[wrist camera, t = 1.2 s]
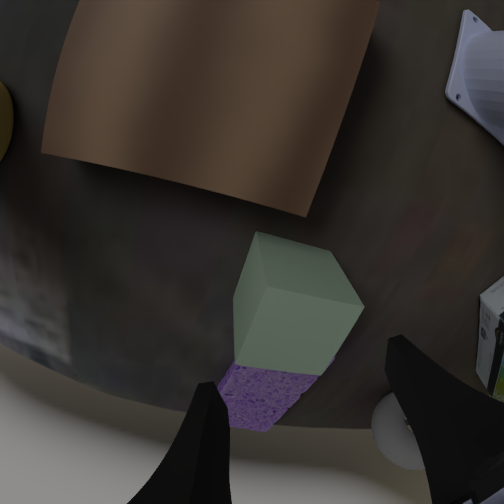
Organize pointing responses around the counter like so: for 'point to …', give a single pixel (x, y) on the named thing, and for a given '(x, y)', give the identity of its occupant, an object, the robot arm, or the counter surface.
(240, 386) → the sponges
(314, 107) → the plinth
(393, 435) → the donut
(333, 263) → the block
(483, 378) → the tea box
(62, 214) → the counter surface
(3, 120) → the paper tube
